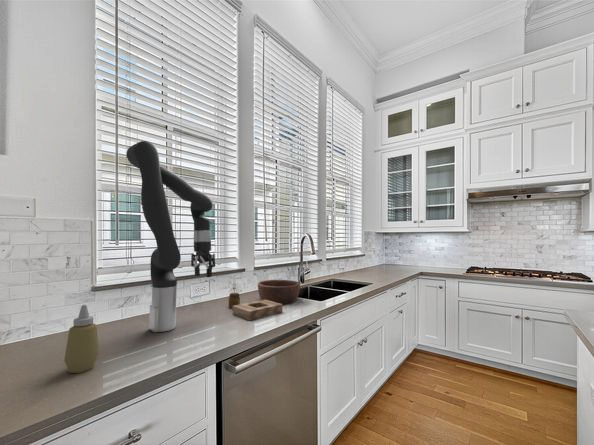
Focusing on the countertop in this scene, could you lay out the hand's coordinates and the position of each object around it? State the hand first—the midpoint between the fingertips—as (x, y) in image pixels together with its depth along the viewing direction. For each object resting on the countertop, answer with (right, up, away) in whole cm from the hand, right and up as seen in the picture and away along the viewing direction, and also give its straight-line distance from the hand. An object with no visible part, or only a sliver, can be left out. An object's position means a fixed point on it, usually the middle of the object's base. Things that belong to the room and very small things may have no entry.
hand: (203, 276), depth 130 cm
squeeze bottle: (-19, -18, -48) cm, 55 cm away
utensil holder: (+9, -21, +23) cm, 32 cm away
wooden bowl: (+32, -22, +40) cm, 55 cm away
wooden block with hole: (+23, -20, +11) cm, 33 cm away
